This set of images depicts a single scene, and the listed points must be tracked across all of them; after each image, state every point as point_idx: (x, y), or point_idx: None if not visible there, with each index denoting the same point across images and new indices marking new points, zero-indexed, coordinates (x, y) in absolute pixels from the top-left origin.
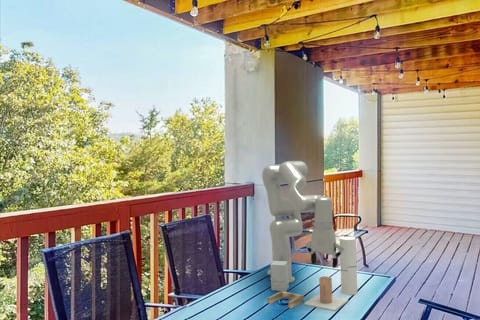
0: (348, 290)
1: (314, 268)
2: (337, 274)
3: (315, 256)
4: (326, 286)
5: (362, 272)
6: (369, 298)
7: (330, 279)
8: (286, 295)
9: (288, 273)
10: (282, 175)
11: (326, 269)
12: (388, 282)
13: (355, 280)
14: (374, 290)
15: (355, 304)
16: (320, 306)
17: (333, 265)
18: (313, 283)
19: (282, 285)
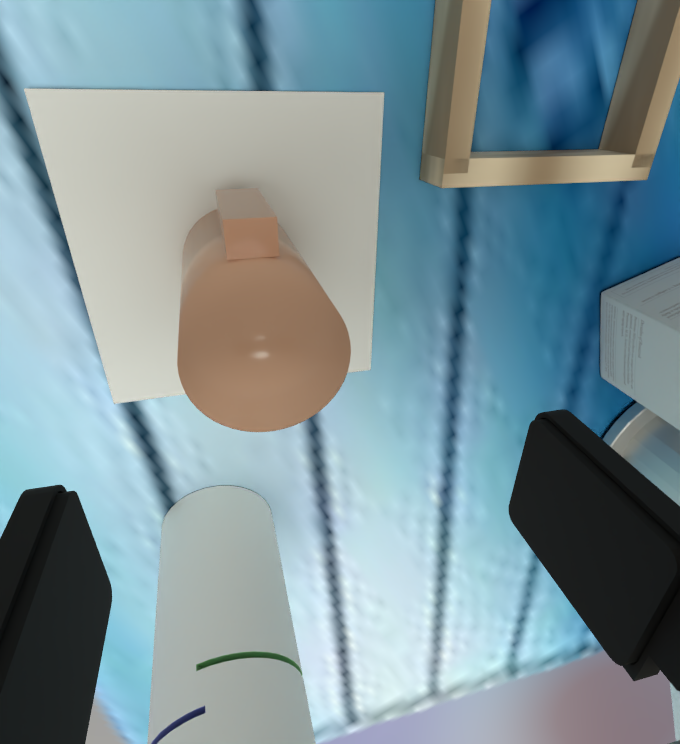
0: (195, 516)
1: (540, 644)
2: (414, 659)
3: (597, 595)
4: (207, 267)
5: (321, 736)
6: None
7: (177, 358)
8: (579, 152)
9: (662, 473)
10: None
11: (485, 667)
12: (132, 740)
13: (156, 619)
14: (111, 634)
15: (18, 373)
16: (208, 101)
17: (19, 520)
18: (480, 507)
19: (656, 296)
